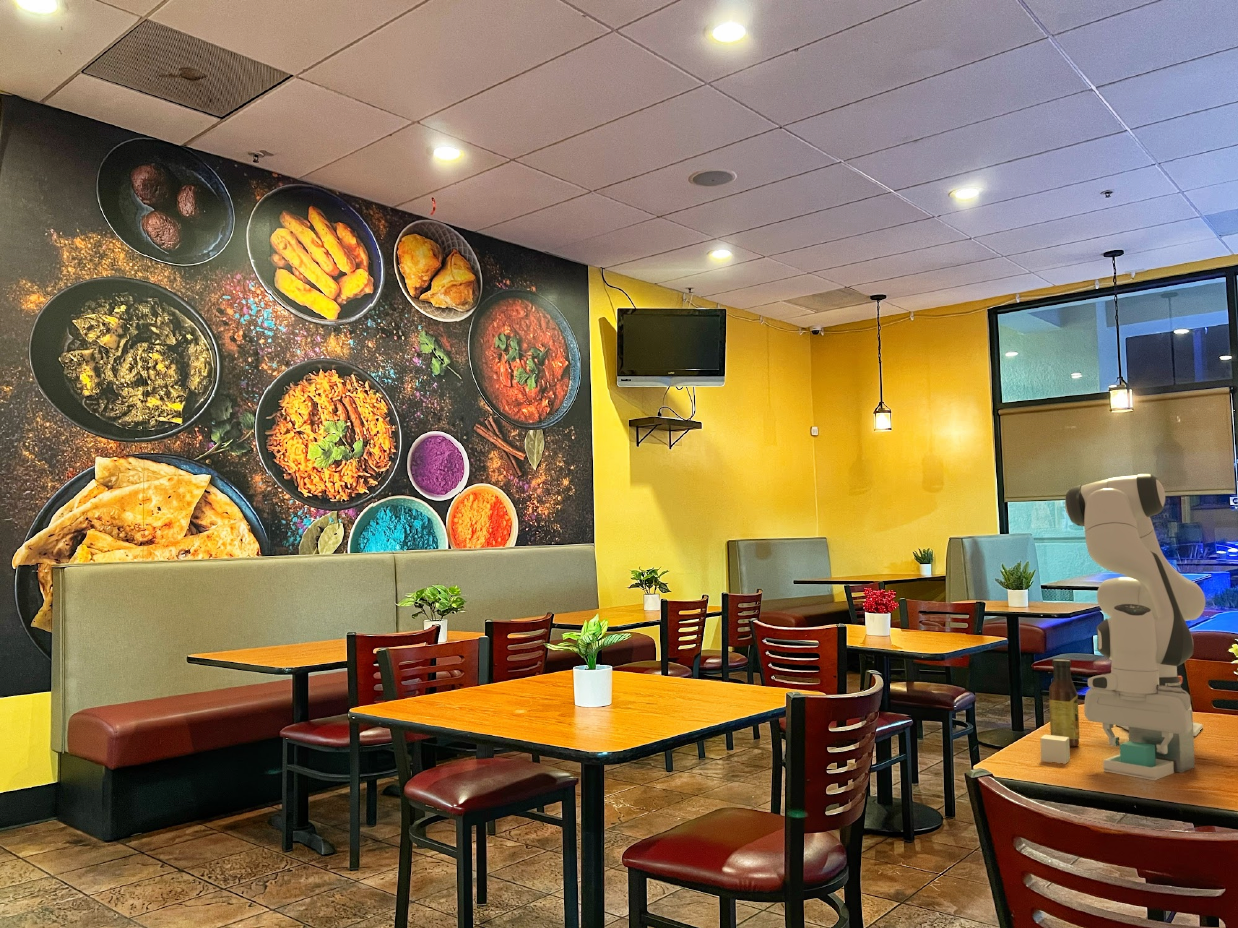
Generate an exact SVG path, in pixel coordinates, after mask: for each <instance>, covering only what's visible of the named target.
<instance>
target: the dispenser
mask: <svg viewBox="0 0 1238 928" xmlns="http://www.w3.org/2000/svg"><path fill="white" fill-rule="evenodd" d="M1190 715H1191V721H1192V729H1191V731H1190V732H1189V733H1187V734H1175V733H1173V738H1172V739H1171V741H1170V742H1169V744H1168V745H1167V749H1168V752H1167V754H1161V753H1157V745H1156V744H1159V743H1162V742H1163V740H1164V738H1165V737H1162V732H1161V731H1155V730H1148V729H1141V728H1134V727H1129V730H1128V741H1132V742H1139V743H1145V744H1151V745H1155V759H1161V760H1167V761H1173V766H1174V773H1179V774H1182V773H1185V772H1187V771H1189V770H1192V769H1193V768H1195V767H1196V766H1195V765H1196V764H1195V745H1194V743H1195V742H1194V741H1195V740H1194V736H1193V722H1194V720H1193V719H1194V718H1193V709H1192V710H1190Z"/></svg>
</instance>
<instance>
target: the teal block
mask: <svg viewBox="0 0 1238 928" xmlns="http://www.w3.org/2000/svg"><path fill="white" fill-rule="evenodd" d="M1119 754H1120V762H1123V763H1129V764H1134V765H1140V766H1146V767H1155V766H1156V764H1155V745H1151V744H1145V743H1139V742H1132V741H1129V740H1128V741H1126V742H1123V743H1119Z"/></svg>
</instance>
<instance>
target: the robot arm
mask: <svg viewBox="0 0 1238 928" xmlns="http://www.w3.org/2000/svg"><path fill="white" fill-rule="evenodd" d="M1165 503H1166V492H1165V488H1164V487H1163V485H1162V483H1161V482H1160V480H1159V479H1158V477H1156V476H1155V475H1153V474H1151V473H1138V474H1137V475H1126V476H1125V475H1122V476H1115V477H1110V478H1108V479H1102V480H1097V481H1094V482H1091V483H1087V484H1084V485H1083V484H1079V485H1076V486H1074V487H1072V488H1069V490H1068V491H1067V492H1066V494H1065V499H1064V508H1065V509H1064V510H1065V513H1066V514H1067V516H1068V517H1069V519H1070V521H1071V523H1073V524H1074V525H1077V526H1079V527H1084V536H1085V544H1086V548H1087V552H1088V554H1089V556H1090V558H1091V559H1092V560H1093V561H1094V562H1095V563H1096V564H1097V565H1099V566H1100V567H1101V568H1104V569H1106V570H1107V571H1110V572H1113V573H1117V574H1118V575H1119V574H1120V575H1122V576H1120V577H1119V576H1118V577H1113V578H1108V579H1105V580H1103V581H1102V583H1100V585H1099V586H1098V589H1097V591H1096V592H1097V593H1096V601H1097V604H1098V606H1099V608H1100V609H1101V611H1102V612H1103V613H1104V614H1105V615H1107V616H1108V617H1109V618H1105V619H1104V620H1102V621H1101V622H1100V623H1099V624H1098V625H1096V636H1097V637H1096V639H1097V642H1096V643H1097V644H1096V646H1097V648H1096V649H1097V651H1098V652H1099V653H1100V654H1101V656H1103V657H1105V659H1107V660H1110V661H1111V663H1110V670H1111V672H1105V673H1102V674H1099V675H1095V676H1094V675H1093V676H1092V677H1088V678H1087V686H1088V687H1089V688H1088V689H1087V690H1086V693H1085V697H1084V716H1085V718H1086V719H1087V720H1088V721H1089V722H1093V723H1100V724H1102V729H1103V731H1104V733H1105V734H1106V736H1107V737H1108V745H1109V746H1111V747H1120V736H1116V735H1115V733H1114V731H1113V729H1114V726H1118V727H1121V728H1123V729H1124V730H1127V731H1129V727H1134V728H1141V729H1148V730H1155V731H1161V732H1162V737H1165V738H1164V740H1163V742H1162V743H1159V744H1156V745H1157V753H1161V754H1167V752H1168V749H1167V745H1168V744H1169V742H1170V741H1171V739H1172V738H1173V733H1175V734H1187V733H1189V732H1190V731H1191V729H1192V721H1191V715H1190V710H1192V711H1193V709H1192V704H1191V695H1190V694H1189V692H1188V691H1186V690H1184V689H1183V688H1182V687H1181V686H1182V684H1183V676H1182V675H1178V670H1177V669H1178V666H1180V665H1182V664H1184V663H1185V662H1186V661H1188V660H1189V659H1190V658H1191V657H1192V656H1193V654H1194V639H1193V636H1192V633H1191V630H1190V628H1189V626H1188V624H1187V622H1188V621H1194V620H1195V621H1196V620H1198V618H1200V617H1201V615H1202V614H1203V612H1204V611H1205V608H1206V596H1205V593H1204V591H1203V590H1202V588H1201V587H1200V585H1198V584H1197V583H1196V582H1194V581H1193V580H1190V579H1189V578H1187V577H1185V576H1184V575H1182V574H1181V573H1180V572H1179V571H1178V570H1176V569H1175V568H1174V567H1173V566H1172V565H1171V564H1170V562H1169V560H1167V558H1166V556H1165V555H1164V553H1163V551H1162V549H1161V547H1160V544H1159V541H1158V537H1157V535H1156V532H1155V529H1154V525H1153V522H1152V518H1151V517H1154V516H1156V515H1158V514H1160V513H1161V512H1162V511H1163V510H1164V508H1165ZM1186 621H1187V622H1186ZM1202 728H1204V727H1203V724H1202V723H1198V722H1195V721H1193V737H1197V735H1199V733H1200V732H1201V731H1202V730H1203V729H1202ZM1201 729H1202V730H1201ZM1200 730H1201V731H1200Z"/></svg>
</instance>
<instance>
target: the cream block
mask: <svg viewBox="0 0 1238 928" xmlns="http://www.w3.org/2000/svg"><path fill="white" fill-rule="evenodd" d="M1070 760H1071V754H1070V746H1069V737H1063V736H1054V735H1051V734H1043V735H1042V736H1041V737H1040V761H1041V762H1046V763H1052V762H1057V763H1056V764H1060V763H1063V764H1062V765H1067V764H1068V763H1069V761H1070ZM1067 762H1068V763H1067ZM1066 763H1067V764H1066Z"/></svg>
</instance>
